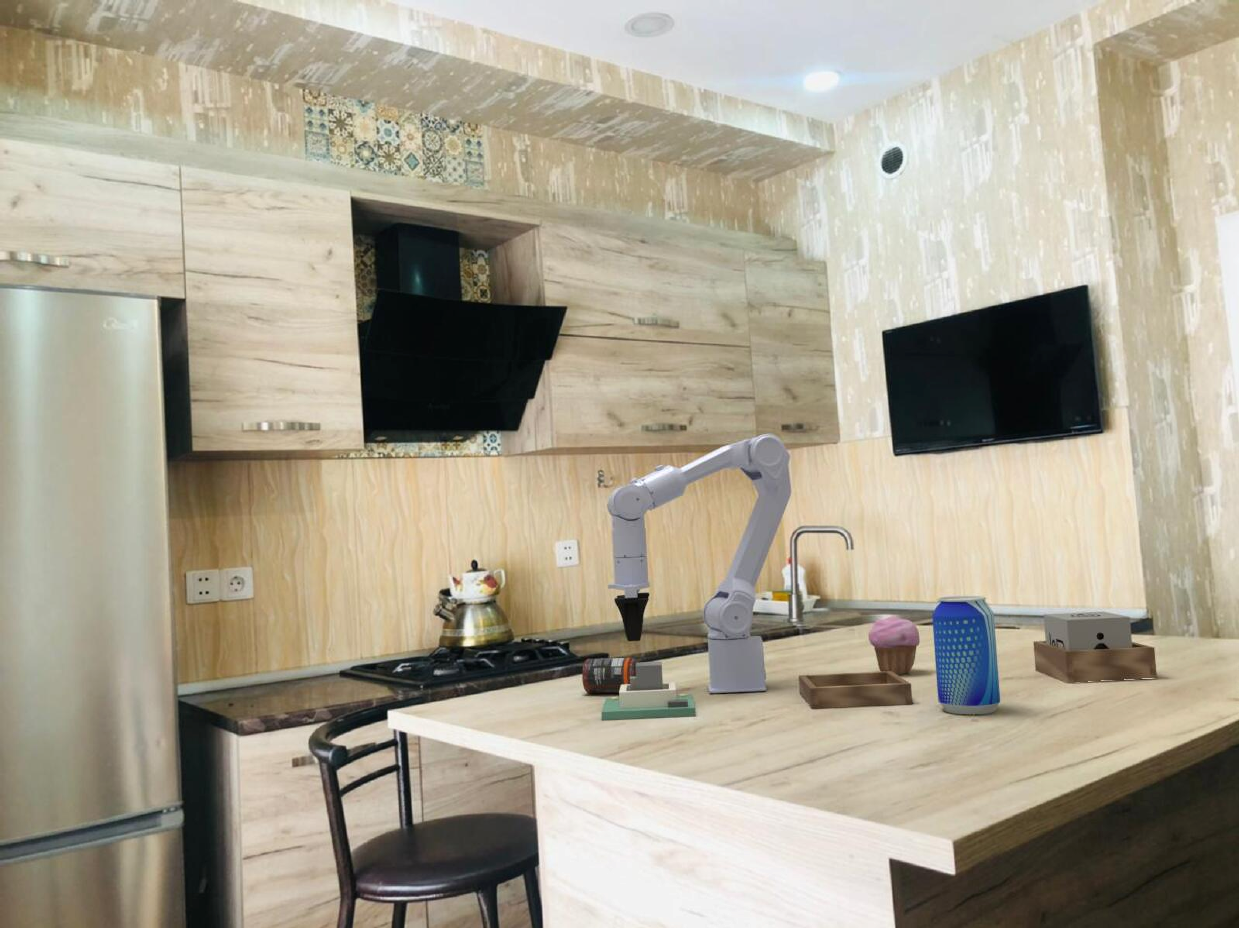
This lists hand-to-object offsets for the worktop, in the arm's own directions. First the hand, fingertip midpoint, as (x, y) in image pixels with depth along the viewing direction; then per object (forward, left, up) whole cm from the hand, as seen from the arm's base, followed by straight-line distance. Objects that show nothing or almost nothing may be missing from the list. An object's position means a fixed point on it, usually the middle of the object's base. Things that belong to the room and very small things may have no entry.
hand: (634, 638), depth 171 cm
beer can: (-48, +23, -10) cm, 54 cm away
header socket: (-2, +12, -9) cm, 15 cm away
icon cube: (-75, -1, -10) cm, 76 cm away
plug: (-2, +12, -9) cm, 15 cm away
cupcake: (-46, -13, -10) cm, 49 cm away
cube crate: (-76, -2, -10) cm, 77 cm away
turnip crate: (-34, +10, -10) cm, 37 cm away
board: (-2, +12, -10) cm, 16 cm away
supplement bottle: (+9, -7, -7) cm, 14 cm away
